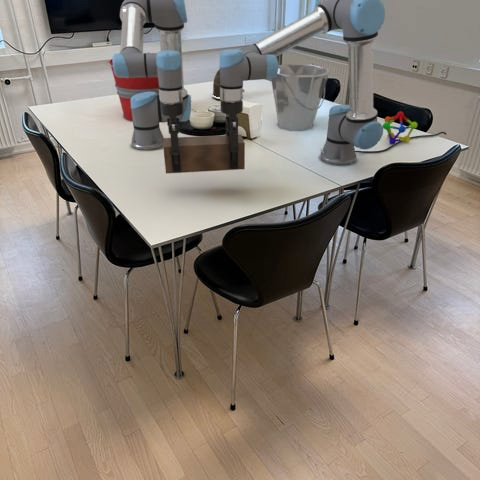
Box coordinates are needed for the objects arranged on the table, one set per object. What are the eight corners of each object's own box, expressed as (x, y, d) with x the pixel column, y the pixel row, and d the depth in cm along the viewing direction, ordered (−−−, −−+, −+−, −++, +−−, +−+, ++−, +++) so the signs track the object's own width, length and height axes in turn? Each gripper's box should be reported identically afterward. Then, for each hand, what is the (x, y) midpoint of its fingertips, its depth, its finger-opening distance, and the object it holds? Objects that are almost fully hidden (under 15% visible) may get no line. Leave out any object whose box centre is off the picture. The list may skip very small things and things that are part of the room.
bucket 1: (123, 106, 262) (116, 51, 247) (182, 106, 262) (178, 52, 246) (106, 123, 233) (97, 63, 217) (172, 124, 232) (168, 64, 216)
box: (165, 173, 154) (163, 146, 148) (165, 163, 161) (163, 138, 156) (244, 169, 157) (244, 142, 152) (240, 159, 165) (240, 134, 159)
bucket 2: (296, 138, 215) (301, 78, 201) (255, 124, 234) (256, 68, 219) (335, 125, 232) (342, 70, 217) (294, 113, 251) (297, 61, 236)
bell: (227, 105, 294) (202, 96, 282) (238, 66, 289) (213, 55, 277) (243, 108, 280) (217, 98, 268) (255, 66, 275) (229, 55, 263)
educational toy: (377, 146, 209) (379, 114, 202) (384, 138, 219) (386, 107, 211) (411, 149, 202) (415, 116, 195) (417, 141, 212) (420, 109, 204)
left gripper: (184, 110, 137) (188, 177, 149) (182, 93, 155) (185, 154, 167) (159, 111, 136) (165, 178, 148) (160, 94, 154) (165, 155, 166)
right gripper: (247, 108, 139) (246, 174, 151) (238, 91, 158) (238, 152, 170) (224, 109, 138) (225, 175, 150) (217, 92, 157) (218, 152, 169)
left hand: (176, 165), depth 157 cm, fingers closed on box, 9 cm apart
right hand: (232, 163), depth 160 cm, fingers closed on box, 9 cm apart
